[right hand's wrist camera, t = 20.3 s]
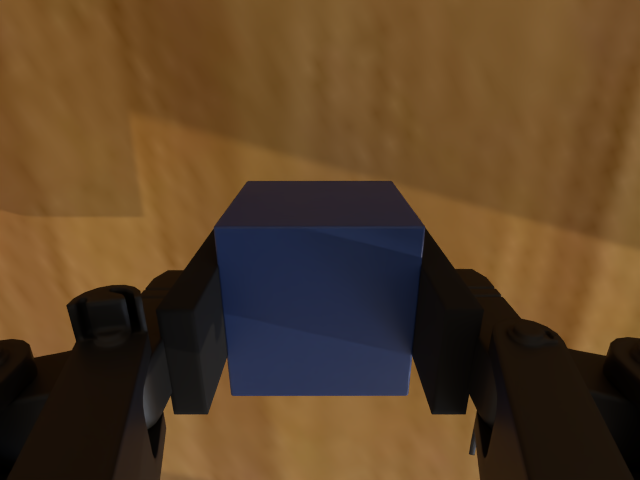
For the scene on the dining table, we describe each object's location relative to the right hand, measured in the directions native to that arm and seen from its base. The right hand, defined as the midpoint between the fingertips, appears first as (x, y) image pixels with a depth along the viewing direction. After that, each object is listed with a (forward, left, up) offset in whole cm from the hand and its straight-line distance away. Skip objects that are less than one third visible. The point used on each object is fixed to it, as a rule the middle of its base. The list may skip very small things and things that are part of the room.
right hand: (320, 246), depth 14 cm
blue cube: (0, 0, 0) cm, 0 cm away
